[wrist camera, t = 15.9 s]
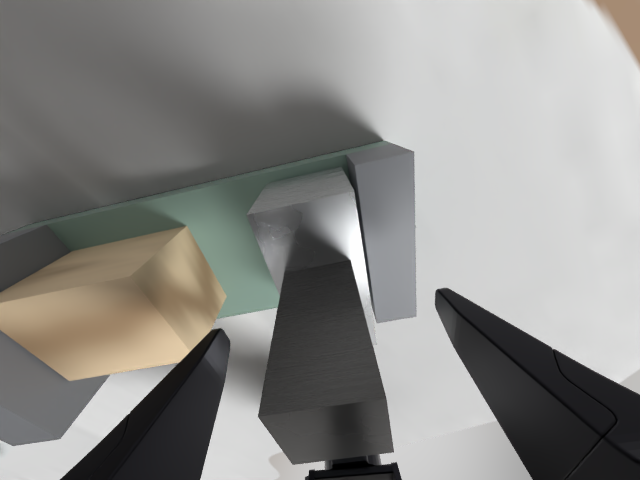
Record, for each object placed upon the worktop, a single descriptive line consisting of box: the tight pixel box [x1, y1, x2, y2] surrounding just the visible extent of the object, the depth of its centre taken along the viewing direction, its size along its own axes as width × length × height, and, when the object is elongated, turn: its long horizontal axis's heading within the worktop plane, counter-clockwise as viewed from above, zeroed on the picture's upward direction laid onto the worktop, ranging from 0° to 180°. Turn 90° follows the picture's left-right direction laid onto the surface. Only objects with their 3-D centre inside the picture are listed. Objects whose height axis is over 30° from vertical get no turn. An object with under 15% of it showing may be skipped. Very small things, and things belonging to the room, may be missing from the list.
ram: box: [247, 167, 394, 465], centre depth 10 cm, size 9×4×10 cm, turn 12°
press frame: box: [0, 141, 416, 446], centre depth 13 cm, size 10×24×8 cm, turn 102°
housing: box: [0, 226, 227, 381], centre depth 14 cm, size 6×8×5 cm
